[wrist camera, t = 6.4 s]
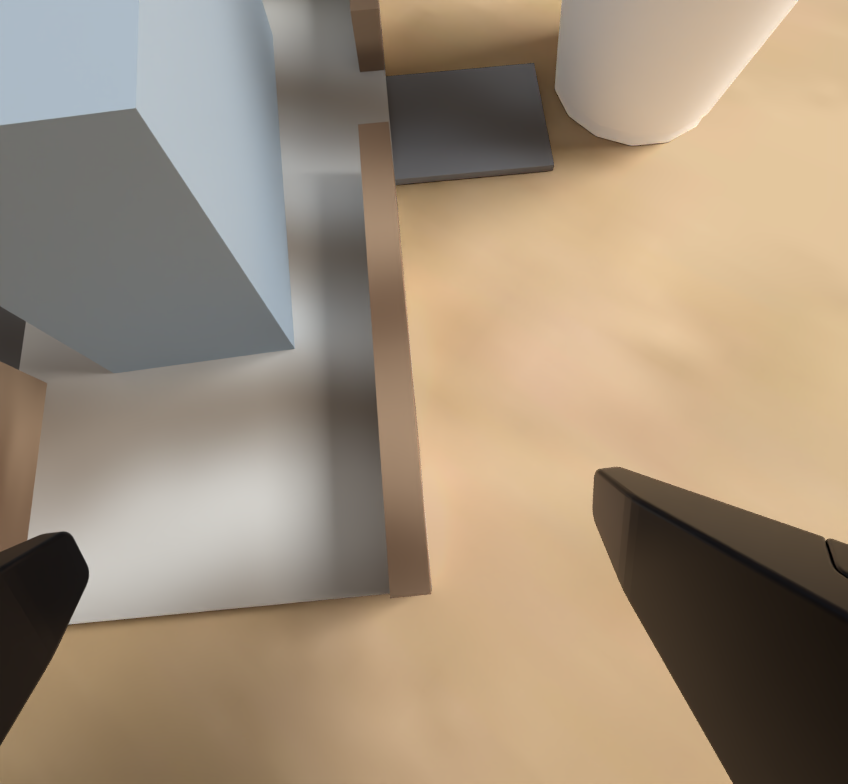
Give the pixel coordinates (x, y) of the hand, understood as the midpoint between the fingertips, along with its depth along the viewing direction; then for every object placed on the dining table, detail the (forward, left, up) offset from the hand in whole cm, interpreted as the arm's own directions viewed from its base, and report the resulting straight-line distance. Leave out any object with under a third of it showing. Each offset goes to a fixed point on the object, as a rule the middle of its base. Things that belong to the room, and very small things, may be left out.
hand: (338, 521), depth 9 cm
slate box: (+9, +12, -7) cm, 16 cm away
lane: (+7, +10, -8) cm, 14 cm away
